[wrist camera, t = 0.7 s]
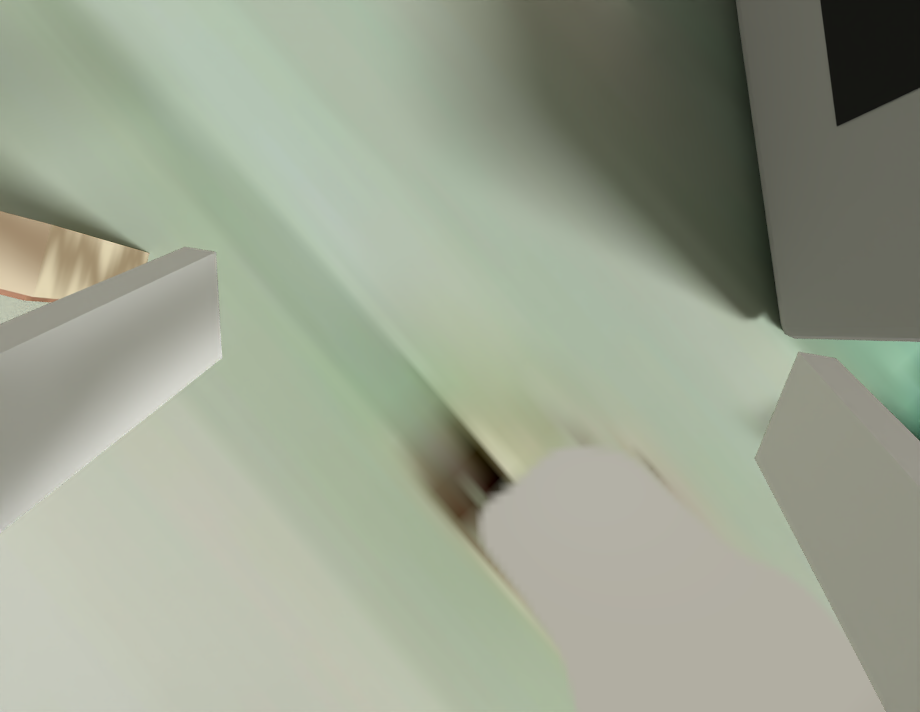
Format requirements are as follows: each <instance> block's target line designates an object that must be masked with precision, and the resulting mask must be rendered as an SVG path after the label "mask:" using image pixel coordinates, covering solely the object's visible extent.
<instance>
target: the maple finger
mask: <svg viewBox="0 0 920 712" xmlns="http://www.w3.org/2000/svg"><path fill="white" fill-rule="evenodd" d="M148 256H149V253H147V252H144V251H140V250H137V249H134V248H130V247H127V246H123V245H120V244H116V243H113V242H110V241H106V240H103V239H99V238H96V237H92V236H89V235H86V234H82V233H79V232H75V231H72V230H68V229H65V228H62V227H58V226H55V225H51V224H47V223H44V222H40V221H36V220H32V219H28V218H24V217H21V216H17V215H13V214H9V213H5V212H1V211H0V294H1V295H5V296H9V297H13V298H17V299H21V300H26V301H40V302H54V301H56V300H59V299H61V298H64V297H66V296H68V295H71V294H73V293H76V292H78V291H80V290H83V289H85V288H87V287H90V286H92V285H95V284H97V283H99V282H102V281H104V280H107V279H109V278H111V277H114V276H116V275H119V274H121V273H123V272H126V271H128V270H131V269H133V268H135V267H138V266H140V265H142V264H145V263H147V260H148Z"/></svg>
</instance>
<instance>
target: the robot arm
mask: <svg viewBox="0 0 920 712" xmlns="http://www.w3.org/2000/svg"><path fill="white" fill-rule="evenodd" d="M221 358H222V348H221V331H220V313H219V295H218V278H217V260H216V252H214V251H208V250H202V249H196V248H190V247H183V248H181V249H178V250H176V251H174V252H171V253H169V254H166V255H164V256H162V257H159V258H157V259H154V260H152V261H150V262H147V263H145V264H142V265H140V266H138V267H135V268H133V269H131V270H128V271H126V272H123V273H121V274H119V275H116V276H114V277H111V278H109V279H107V280H104V281H102V282H99V283H97V284H95V285H92V286H90V287H87V288H85V289H83V290H80V291H78V292H76V293H73V294H71V295H68V296H66V297H64V298H61V299H59V300H56V301H54V302H52V303H49V304H47V305H44V306H42V307H40V308H37V309H35V310H32V311H30V312H28V313H25V314H23V315H21V316H18V317H16V318H13V319H11V320H9V321H6V322H4V323H1V324H0V533H1V532H2V531H3V530H5V529H6V528H7V527H8V526H10V525H11V524H12V523H14V522H15V521H16V520H17V519H19V518H20V517H21V516H22V515H24V514H25V513H26V512H27V511H29V510H30V509H31V508H33V507H34V506H35V505H36V504H38V503H39V502H40V501H41V500H43V499H44V498H45V497H46V496H48V495H49V494H50V493H52V492H53V491H54V490H55V489H57V488H58V487H59V486H60V485H62V484H63V483H64V482H65V481H67V480H68V479H69V478H71V477H72V476H73V475H74V474H76V473H77V472H78V471H79V470H81V469H82V468H83V467H84V466H86V465H87V464H88V463H90V462H91V461H92V460H93V459H95V458H96V457H97V456H98V455H100V454H101V453H102V452H103V451H105V450H106V449H107V448H109V447H110V446H111V445H112V444H114V443H115V442H116V441H117V440H119V439H120V438H121V437H122V436H124V435H125V434H126V433H128V432H129V431H130V430H131V429H133V428H134V427H135V426H136V425H138V424H139V423H140V422H141V421H143V420H144V419H145V418H147V417H148V416H149V415H150V414H152V413H153V412H154V411H155V410H157V409H158V408H159V407H160V406H162V405H163V404H164V403H166V402H167V401H168V400H169V399H171V398H172V397H173V396H174V395H176V394H177V393H178V392H179V391H181V390H182V389H183V388H185V387H186V386H187V385H188V384H190V383H191V382H192V381H193V380H195V379H196V378H197V377H198V376H200V375H201V374H202V373H204V372H205V371H206V370H207V369H209V368H210V367H211V366H212V365H214V364H215V363H216V362H217V361H219V360H220V359H221ZM755 460H756V462H757V464H758V466H759V468H760V470H761V472H762V473H763V475H764V477H765V479H766V481H767V483H768V485H769V487H770V489H771V491H772V493H773V495H774V497H775V499H776V500H777V502H778V504H779V506H780V508H781V510H782V512H783V514H784V516H785V518H786V520H787V522H788V524H789V526H790V528H791V529H792V531H793V533H794V535H795V537H796V539H797V541H798V543H799V545H800V547H801V549H802V551H803V553H804V555H805V556H806V558H807V560H808V562H809V564H810V566H811V568H812V570H813V572H814V574H815V576H816V578H817V580H818V582H819V583H820V585H821V587H822V589H823V591H824V593H825V595H826V597H827V599H828V601H829V603H830V605H831V607H832V609H833V610H834V612H835V614H836V616H837V618H838V620H839V622H840V624H841V626H842V628H843V630H844V632H845V634H846V636H847V638H848V639H849V641H850V643H851V645H852V647H853V649H854V651H855V653H856V655H857V657H858V659H859V661H860V663H861V665H862V666H863V668H864V670H865V672H866V674H867V676H868V678H869V680H870V682H871V684H872V685H873V687H874V690H875V691H876V693H877V695H878V697H879V699H880V701H881V703H882V705H883V707H884V709H885V711H886V712H920V441H919V440H918V439H917V438H916V437H915V436H914V435H913V434H912V433H911V432H910V431H909V430H908V429H907V428H906V427H905V426H904V425H903V424H902V423H901V422H900V421H899V420H898V419H897V418H896V417H895V416H894V415H893V414H892V413H891V412H890V411H889V410H888V409H887V408H886V407H885V406H884V405H883V404H882V403H881V402H880V401H879V400H878V399H877V398H876V397H875V396H874V395H873V394H872V393H871V392H870V391H869V390H868V389H867V388H866V387H865V386H863V385H862V384H861V383H860V382H859V381H858V380H857V379H856V378H855V377H854V376H853V375H852V374H851V373H850V372H849V371H848V370H847V369H846V368H845V367H844V366H843V365H842V364H841V363H840V362H839V361H838V360H837V359H836V358H832V357H826V356H820V355H814V354H809V353H803V352H798V354H797V356H796V359H795V361H794V364H793V366H792V369H791V371H790V373H789V376H788V378H787V381H786V383H785V386H784V388H783V390H782V393H781V395H780V398H779V400H778V403H777V405H776V408H775V410H774V412H773V415H772V417H771V420H770V422H769V425H768V427H767V429H766V432H765V434H764V437H763V439H762V442H761V444H760V447H759V449H758V451H757V454H756V456H755Z"/></svg>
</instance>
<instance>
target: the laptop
mask: <svg viewBox="0 0 920 712" xmlns="http://www.w3.org/2000/svg"><path fill="white" fill-rule="evenodd" d="M736 7H737V14H738V21H739V29H740V36H741V43H742V50H743V57H744V64H745V71H746V79H747V86H748V93H749V100H750V107H751V114H752V121H753V129H754V136H755V143H756V150H757V157H758V164H759V172H760V179H761V186H762V193H763V200H764V207H765V214H766V222H767V229H768V236H769V243H770V250H771V257H772V264H773V272H774V279H775V286H776V293H777V300H778V307H779V314H780V322H781V325H782V328H783V330H784V333H785V334H786V335H788V336H790V337H793V338H797V339H835V340H873V341H911V342H920V0H736Z"/></svg>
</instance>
